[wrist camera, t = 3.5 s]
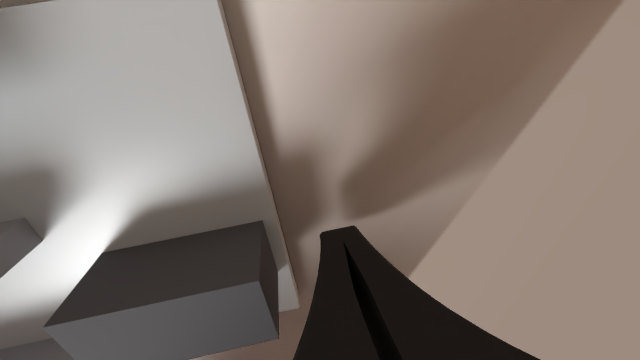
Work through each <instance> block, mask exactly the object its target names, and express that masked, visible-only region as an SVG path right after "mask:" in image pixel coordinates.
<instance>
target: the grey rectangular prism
mask: <svg viewBox="0 0 640 360" xmlns="http://www.w3.org/2000/svg"><path fill="white" fill-rule="evenodd" d="M43 329H44V330H45V331H46V332H47V333H48V334H49V335H50V336H51V337H52V338H53V339H54V340H55V341H56V342H57V343H58V344H59V345H60V346H61V347H62V348H63V349H64V350H65V351H66V352H67V353H68V354H69V355H70V356H71V357H72V358H73V359H74V360H188V359H192V358H197V357H201V356H205V355H210V354H214V353H218V352H223V351H227V350H231V349H236V348H240V347H244V346H249V345H253V344H257V343H262V342H266V341H270V340H275V339H279V300H278V270H277V267H276V263H275V260H274V257H273V253H272V250H271V247H270V243H269V240H268V237H267V233H266V230H265V227H264V223H263V220H261V221H256V222H251V223H246V224H241V225H236V226H231V227H226V228H221V229H217V230H212V231H207V232H202V233H197V234H192V235H187V236H182V237H177V238H172V239H167V240H162V241H157V242H152V243H148V244H143V245H138V246H133V247H128V248H123V249H118V250H113V251H108V252H103V253H101V255H100V256H99V257H98V259H97V260H96V261H95V262H94V264H93V265H92V266H91V267H90V269H89V270H88V271H87V272H86V274H85V275H84V276H83V277H82V279H81V280H80V281H79V282H78V284H77V285H76V286H75V287H74V289H73V290H72V291H71V292H70V294H69V295H68V296H67V297H66V299H65V300H64V301H63V302H62V304H61V305H60V306H59V307H58V309H57V310H56V311H55V312H54V314H53V315H52V316H51V317H50V319H49V320H48V321H47V323H46V324H45V325H44V326H43Z"/></svg>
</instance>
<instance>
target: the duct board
mask: <svg viewBox="0 0 640 360" xmlns="http://www.w3.org/2000/svg"><path fill="white" fill-rule="evenodd" d="M261 220H263V223H264V227H265V230H266V233H267V237H268V240H269V243H270V247H271V250H272V253H273V257H274V260H275V263H276V267H277V270H278V300H279V313H280V312H285V311H289V310H294V309H298V308H300V304H299V294H298V290H297V286H296V283H295V279H294V275H293V271H292V267H291V264H290V260H289V256H288V252H287V249H286V245H285V241H284V237H283V233H282V230H281V226H280V222H279V218H278V214H277V211H276V207H275V203H274V199H273V195H272V192H271V188H270V184H269V180H268V177H267V173H266V169H265V165H264V161H263V158H262V154H261V150H260V146H259V142H258V139H257V135H256V131H255V127H254V123H253V120H252V116H251V112H250V108H249V104H248V101H247V97H246V93H245V89H244V86H243V82H242V78H241V74H240V70H239V67H238V63H237V59H236V55H235V51H234V48H233V44H232V40H231V36H230V32H229V29H228V25H227V21H226V17H225V14H224V10H223V6H222V2H221V0H53V1H46V2H40V3H33V4H26V5H19V6H12V7H5V8H0V360H74V359H73V358H72V357H71V356H70V355H69V354H68V353H67V352H66V351H65V350H64V349H63V348H62V347H61V346H60V345H59V344H58V343H57V342H56V341H55V340H54V339H53V338H52V337H51V336H50V335H49V334H48V333H47V332H46V331H45V330H44V329H43V326H44V325H45V324H46V323H47V321H48V320H49V319H50V317H51V316H52V315H53V314H54V312H55V311H56V310H57V309H58V307H59V306H60V305H61V304H62V302H63V301H64V300H65V299H66V297H67V296H68V295H69V294H70V292H71V291H72V290H73V289H74V287H75V286H76V285H77V284H78V282H79V281H80V280H81V279H82V277H83V276H84V275H85V274H86V272H87V271H88V270H89V269H90V267H91V266H92V265H93V264H94V262H95V261H96V260H97V259H98V257H99V256H100V255H101V253H103V252H108V251H113V250H118V249H123V248H128V247H133V246H138V245H143V244H148V243H152V242H157V241H162V240H167V239H172V238H177V237H182V236H187V235H192V234H197V233H202V232H207V231H212V230H217V229H221V228H226V227H231V226H236V225H241V224H246V223H251V222H256V221H261Z"/></svg>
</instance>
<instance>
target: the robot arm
mask: <svg viewBox="0 0 640 360" xmlns="http://www.w3.org/2000/svg"><path fill="white" fill-rule="evenodd" d="M320 240H321V253H320V263H319V270H318V277H317V282H316V286H315V291H314V296H313V300H312V304H311V308H310V311H309V315H308V318H307V321H306V324H305V328H304V330H303V333H302V336H301V339H300V342H299V345H298V348H297V350H296V353H295V356H294V358H293V360H540V359H538V358H536V357H534V356H532V355H530V354H528V353H526V352H523V351H522V350H520V349H517V348H515V347H513V346H511V345H510V344H508V343H506V342H504V341H502V340H500V339H498V338H497V337H495V336H493V335H491V334H490V333H488V332H486V331H484V330H483V329H481V328H479V327H478V326H476V325H474V324H473V323H471V322H470V321H468V320H466V319H465V318H463V317H461V316H460V315H458V314H456V313H455V312H453V311H452V310H450V309H448V308H447V307H445V306H444V305H443V304H441V303H440V302H438V301H437V300H435V299H434V298H433V297H431V296H430V295H429V294H427V293H426V292H424V291H423V290H422V289H420V288H419V287H418V286H416V285H415V284H414V283H413V282H411V281H410V280H409V279H408V278H407V277H405V276H404V275H403V274H402V273H401V272H400V271H398V270H397V269H396V268H395V267H394V266H393V265H392V264H391V263H389V262H388V261H387V260H386V259H385V258H384V257H383V256H382V255H381V254H380V253H379V252H378V251H377V250H376V249H375V248H374V247H373V246H372V245H371V244H370V243H369V242H368V241H367V239H366V238H365V237H364V236H363V235H362V234H361V233H360V231H359V230H358V229H357V228H356V227H355V226H349V227H344V228H339V229H335V230H330V231H325V232H322V233H321V234H320Z"/></svg>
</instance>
